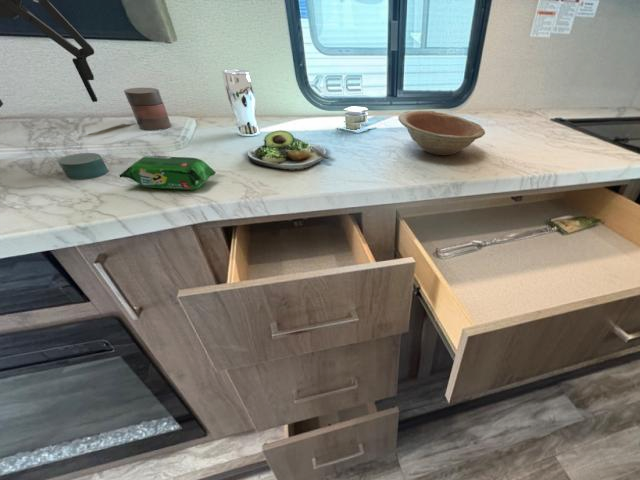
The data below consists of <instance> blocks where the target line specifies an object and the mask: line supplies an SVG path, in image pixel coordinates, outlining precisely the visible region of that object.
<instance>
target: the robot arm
mask: <svg viewBox="0 0 640 480" xmlns="http://www.w3.org/2000/svg"><path fill="white" fill-rule="evenodd" d="M32 1H33V2H34V3H38V4H40V6H41V8H43V9H44V11H46V12H47V14H48V15H49V16H51V17H52V19H54V20H55V21H56V22H57V24H58V25H59V26H60V27H61V28H62V29H63V30H64V31H65V32H66V33H67V34H68V35H69V36H70V38H72V40H74V41H75V42H76V43H77V44H78V45H79V46H80V47H81V48H78V47H77V46H76V45H74V44H73V43H71V42H70V41H68V39H66V38H65V37H64V36H62V35H60V34H59V33H58V32H57V31H56V30H54V29H53V28H52V27H51V26H49V25H48V24H46V23H45V22H43V21H42V20H41V19H39V18H38V17H37V16H36V15H34V13H32V12H31V11H30V10H28V9H27V8H26V7H24V6H23V2H24V0H0V18H2V19H5V20H6V19H7V20H15V19H17V18H19V17H20V18H21V19H22V20H24V21H25V22H26V23H29V24H30V25H32V26H33V27H34V28H35V29H37V30H38V31H40V32H41V33H43V34H44V35H45V36H47V38H49V39H51V41H53V42H55V43H56V44H57V45H58V46H59V47H62V48H63V49H64V50H66V51H67V52H68V53H70V54H71V55H72V56H74V57H73V58H72V60H71V61H72V63H73V65H74V67H75V69H76V71H77V73H78V75H79V77H80V79H81V81H82V83H83V85H84V87H85V89H86V92H87V94H88V95H89V97H90V100H91V101H92V102H93V103H96V102H98V97H97V95H96V93H95V91H94V89H93V87H92V85H91V83H90V81H94V80H95V77H94V72H92V69H91V67H90V64H89V63H88V60H87V58H88V57H91V56H93V55H94V54H95V49H94V47H93V46H92V45H91V44H90V43H89V42H88V41H87V40H86V39H85V38H84V37H83V36H82V34H80V33H79V32H78V30H77V29H76V28H75V27H74V26H73V25H72V24H71V23H70V22H69V21H68V20H67V19H66V17H64V16H63V14H62V13H60V11H59V10H58V9H57V8H56V7H55V5H53V3H51V2H50V0H32ZM3 105H4V102H3V101H2V100H1V99H0V108H2V107H3Z"/></svg>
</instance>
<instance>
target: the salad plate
mask: <svg viewBox="0 0 640 480" xmlns="http://www.w3.org/2000/svg"><path fill="white" fill-rule="evenodd" d="M263 142H264V143H263V145H261V146H257V147H255V148H252V149H250V150H248V151H247V153H246V156H247V158H248V159H249V160H250V161H251V162H253V164H256V165H259V166H264V167H267V168H271V169H279V168H280V170H287V169H289V170H288V171H296V170H295V169H297V170H304V168H305V169H308V167H309V168H311V167H313V166H315V165H317V164H318V163H320V162H321V161H322V160H331V156H330V155H328V154H326V153H327V152H326V151H327V150H326V149H325V147H323V146H321V145H316V144H310V143H308V142H306V141H304V140H303V141H302V140H301V139H299V138H296V137H295V136H294V135H293V133H291V132H289V131H287V130H274V131H271V132H269V133H268V134H266V135H265V136H264V139H263ZM312 165H313V166H312Z"/></svg>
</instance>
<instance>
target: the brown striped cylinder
mask: <svg viewBox="0 0 640 480" xmlns="http://www.w3.org/2000/svg"><path fill="white" fill-rule="evenodd" d="M123 92H124V95H125V97H126V100H127V102H128V104H129V107H130V109H131V111H132V114H133V116H134V118H135V121H136V124H137V125H138V128H139V129H140V130H142V129H144V130H143V131H160V130H159V129H162V130H166V129H169V128H171V127H172V123H171V120H170V118H169V115H168V112H167V108H166V106H165V103H164V101H163V99H162V96H161V93H160V90H159V88H155V87H132V88H127V89H124V90H123ZM170 126H171V127H170ZM168 127H169V128H168ZM165 128H166V129H165Z"/></svg>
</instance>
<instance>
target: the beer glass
mask: <svg viewBox="0 0 640 480" xmlns="http://www.w3.org/2000/svg"><path fill="white" fill-rule="evenodd" d="M221 74H222V80H223V85H224V89H225V94H226V96H227V97H226V98H227V99H228V100H227V101H228V103H229V105H230V107H231V110H232V112H233V114H234V117H235V120H236V128H237V129H236V130H237V134H238V135H239V136H242V137H256V136H258V135H260V134H261V130H260V127H259V125H258V121H257V117H256V99H255V98H256V97H255V92H254V87H253V83H252V79H251V75H250V72H249V70H245V69H224V70H222V71H221Z"/></svg>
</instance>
